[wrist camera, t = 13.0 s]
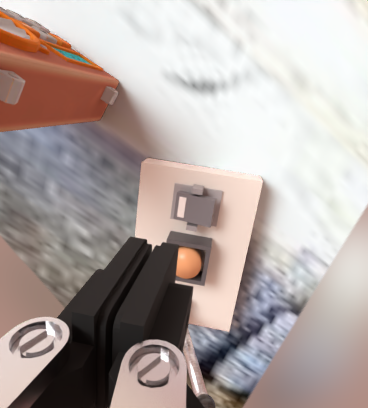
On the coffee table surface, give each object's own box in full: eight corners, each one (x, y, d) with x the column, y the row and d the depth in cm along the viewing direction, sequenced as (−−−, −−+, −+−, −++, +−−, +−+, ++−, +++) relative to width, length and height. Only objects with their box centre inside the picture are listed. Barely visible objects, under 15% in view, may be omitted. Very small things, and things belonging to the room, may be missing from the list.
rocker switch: (216, 198, 33) (214, 201, 32) (212, 224, 34) (210, 227, 33) (179, 190, 35) (176, 192, 34) (176, 215, 36) (173, 218, 35)
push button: (204, 246, 36) (203, 254, 34) (199, 272, 37) (198, 281, 35) (174, 241, 36) (172, 248, 34) (171, 266, 37) (168, 275, 36)
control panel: (20, 7, 34) (132, 81, 35) (0, 64, 37) (105, 133, 37) (-276, -133, 14) (2, 49, 15) (-278, 14, 16) (-38, 165, 17)
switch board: (260, 175, 36) (265, 187, 31) (229, 317, 43) (229, 345, 38) (148, 157, 38) (135, 166, 32) (134, 297, 44) (122, 323, 39)
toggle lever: (185, 302, 39) (219, 408, 26) (183, 315, 40) (216, 424, 27) (170, 303, 39) (197, 410, 26) (169, 315, 40) (194, 427, 26)
